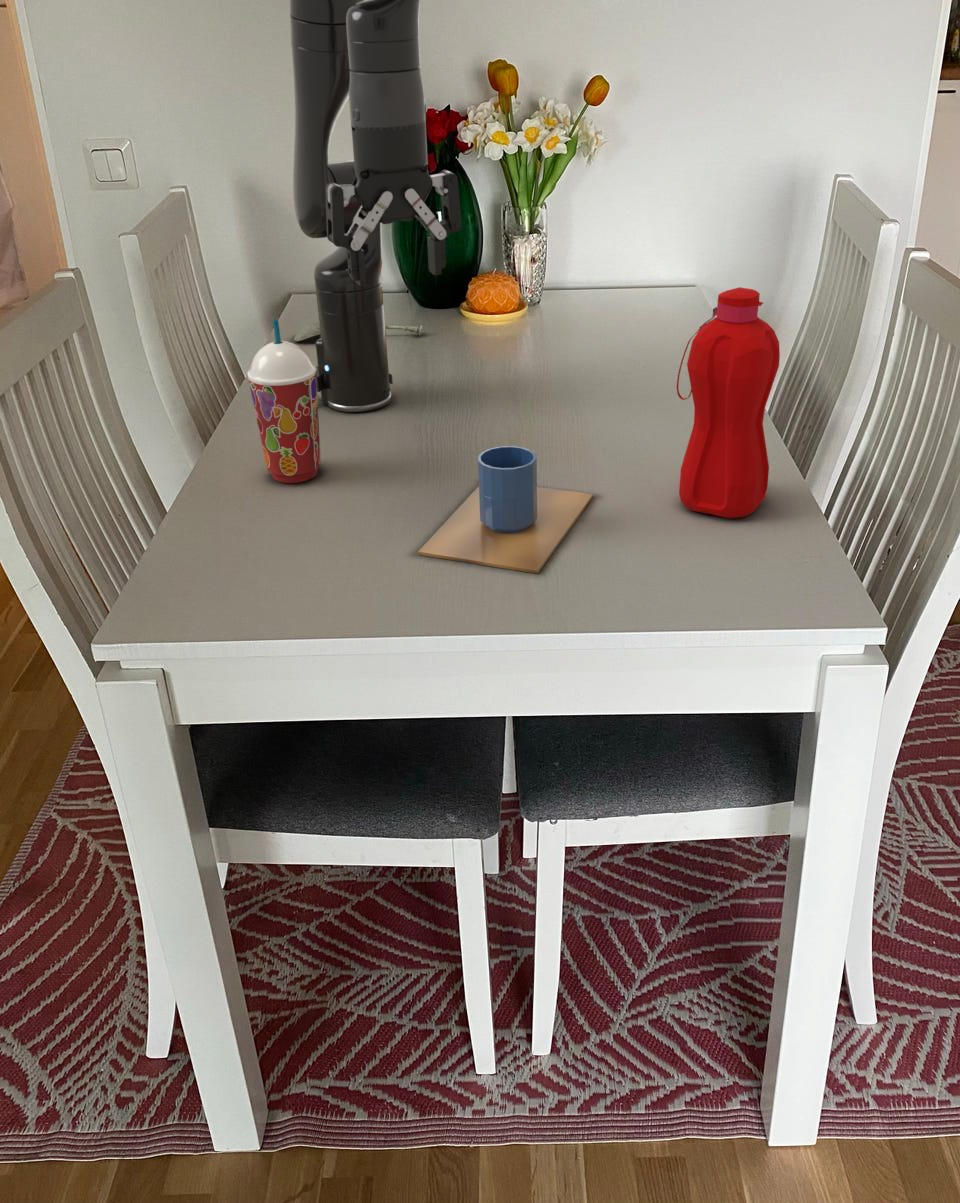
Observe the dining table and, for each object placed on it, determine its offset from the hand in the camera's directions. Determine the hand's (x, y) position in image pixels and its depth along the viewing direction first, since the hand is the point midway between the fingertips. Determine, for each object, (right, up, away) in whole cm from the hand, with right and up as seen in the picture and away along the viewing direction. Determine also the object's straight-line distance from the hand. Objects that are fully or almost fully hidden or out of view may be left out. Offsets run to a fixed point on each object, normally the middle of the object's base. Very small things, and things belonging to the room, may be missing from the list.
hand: (398, 278), depth 124 cm
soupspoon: (-12, +10, +71) cm, 73 cm away
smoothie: (-15, -19, +22) cm, 33 cm away
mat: (+12, -26, +8) cm, 30 cm away
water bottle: (+37, -23, +11) cm, 45 cm away
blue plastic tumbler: (+12, -26, +8) cm, 30 cm away
